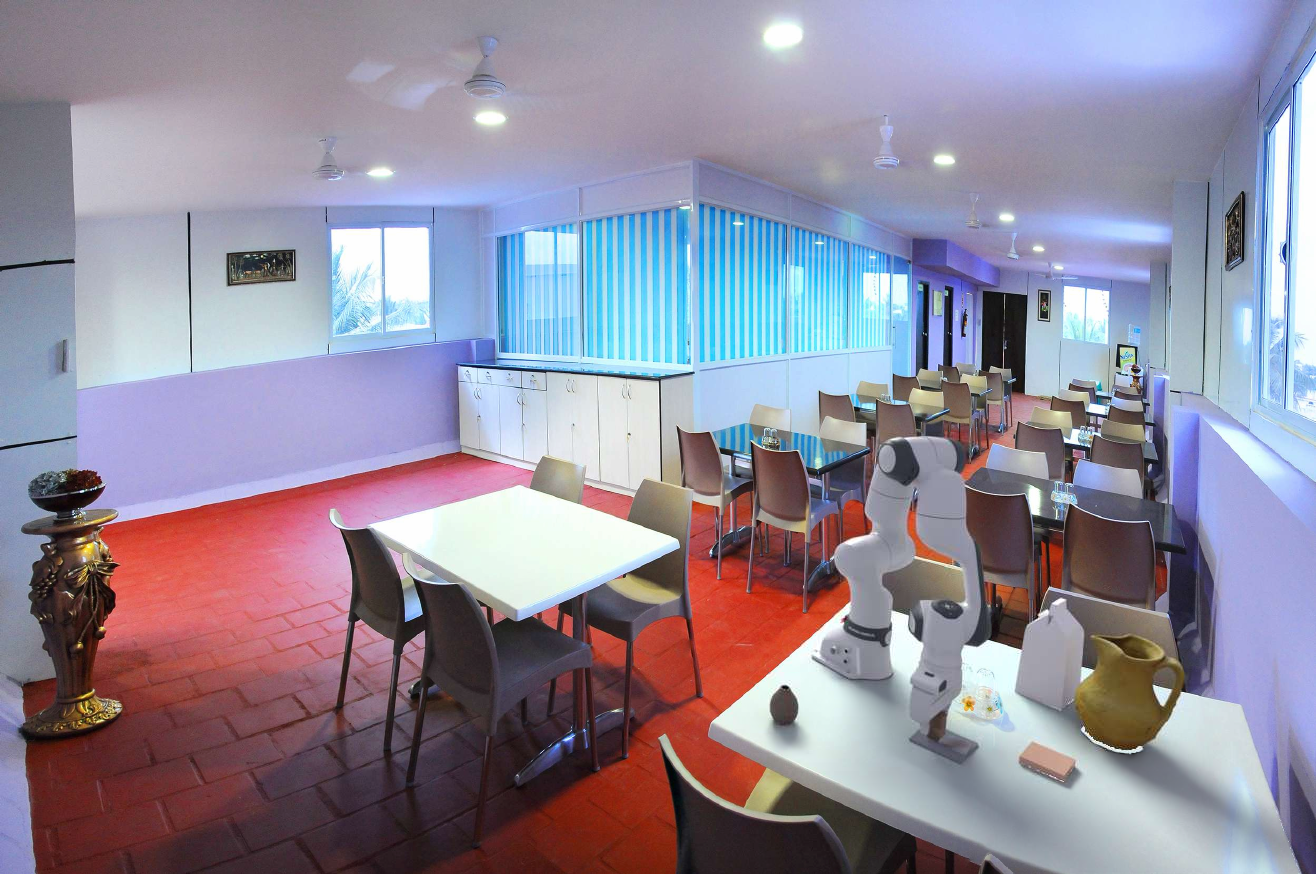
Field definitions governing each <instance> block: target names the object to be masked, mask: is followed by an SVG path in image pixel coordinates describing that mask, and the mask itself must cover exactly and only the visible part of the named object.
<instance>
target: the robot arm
mask: <svg viewBox="0 0 1316 874" xmlns="http://www.w3.org/2000/svg"><path fill="white" fill-rule="evenodd" d="M966 464H967V453H966V450H965V448H964V446H963V444H962V443H961V442H960V441H958V440H956V439H954V438H950V437H945V436H944V437H942V436H941V437H938V436H927V435H920V436H909V437H901V436H899V437H898V436H897V437H894V438H893V437H892V438H889V439H887V440H885V441H884V442H883V443H882V444H881V446H880V447H879V450H878V452H877V464H876V466H875V469H874V471H873V474H872V477H871V479H870V480H871V481H870V485H869V488H868V491H867V493H868V494H867V496H866V501H865V506H864V513H865V515H866V517H867V519H869V521H871V523H872V529H871V532H870V533H869V534H866V535H861V536H856V537H852V538H849V539H847V540H845V541H843V542H842V543H840V544H838V545H837V546H836V548H835V551H834V557H833V560H834V565H835V567H836V569H837V571H838V572H839V573H840V574H841V575H842V576H843V577H845V578H846V580H847V583H848V586H849V590H850V591H849V592H850V607H849V611H848V614H845V615H844V616H843V617H842V618H841V619H840V624H842V623H843V624H842V625H841V626H839V627H836V628H833V629H832V630H830V631H828V632H827V633H826V634H825V635H824V636H823V638H822V640H821V643H820V644H819V645H817V646H815V648H814V649H813V650H812V654H811V658H812V659H814V660H815V661H817V662H819V663H821V664H823V665H824V666H825V667H828V668H829V669H832V670H834V671H835V672H837V673H838V674H840V675H842V676H844V677H846V678H847V679H849V680H858V679H859V680H860V679H862V680H883V679H887V678H889V677H890V676H891V675H893V672H894V669H893V666H892V659H891V642H892V638H893V637H892V636H893V622H892V613H893V601H894V599H893V595H892V593H891V592H890V591H889V590H888V589H887V588H886V587H884V586H883V580H882V579H883V575H884V574H887V573H891V572H895V571H899V570H901V569H903V568H905V567H906V566H908V565H910V564H911V563H912V562H913V561H914V560H915V558H916V552H917V551H916V545H915V543H914V540H913V539H912V537H911V536H910V535H909V533H908V516H909V512H910V509H911V504H912V500H913V496H914V492H915V489H916V493H917V502H916V512H915V531H916V534H917V536H918V538H919V540H920V541H921V543H923V544H924V545H925V546H927V547H928V548H929V549H931V550H932V551H934V552H936V553H938V554H941V555H942V556H945V557H948V558H950V559H952V560H954V561H955V562H957V563H958V564H959V565H960V567H961V570H962V576H963V586H964V595H965V598H964V601H962V602H956V601H955V600H954V601H953V600H951V599H947V598H936V599H929V600H928V599H922V600H916V601H915V602H914V603H913V604H912V605H911V606H910V607H909V610H908V621H907V629H908V631H909V633H910V634H911V635H912V636H913V637H914V639H916V640H917V641H918V642H919V643H922V645H923V647H922V650H921V652H920V658H919V659H920V660H919V661H918V664H917V667H916V669H915V670H914V671H913V673H912V674H911V675H910V679H909V684H910V685H912V687H911V689H910V696H909V707H908V710H909V712H908V713H909V717H910V719H911V720H913V721H914V722H917V723H919V725H920V728H919V729H920V732H921V733H923V734H925V735H927V734H928V733H929V732H930V729H931V726H930V725H929V722H930V720H931V719H932V718H933V717H934V716H935V715H937V714H938V713H939V712H940V711H942V712H944V713H946V714H947V717H949V711H950V708H951V705H952V703H953V701H954V700H956V699H957V697H959V696H960V695H961V692H962V689H963V669H962V667H963V658H962V652H963V649H964V647H965V646H969V647H973V648H979V647H980V646H982V645H983V644H985V643H986V642H987V641H988V640H989V639H990V638H991V636H992V622H991V616H990V611H989V606H988V599H987V592H986V583H985V574H984V565H983V559H982V553H981V548H980V545H979V543H978V541H977V539H976V538H974V537H973V536H971V534H970V532H969V531H968V526H967V493H966V483H965V479H964V477H963V476H962V475H961V474H962V473H963V472H964V469H965V467H966Z"/></svg>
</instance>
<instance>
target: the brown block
mask: <svg viewBox="0 0 1316 874" xmlns="http://www.w3.org/2000/svg"><path fill="white" fill-rule="evenodd" d="M947 719H948V716H947V714H946V713H944V712H942V711H940V712H939V713H938V714H937V715H935V716H934V717H933V718H932V719H931V720H930V722H929V725H930V726H931V729H930V732H929V733H928V734H927V737H928V738H931V739H933V740H935V741H937V742H939V744H941V745H943V746H945V747H948V748H950V749H952V750H954V751H956V752H959V753H961V754H963V755H965V754H966V753H967V752H968V751H969V750H970V749H971V748H972V744H969V743H967V742H965V741H963V740H960V739H958V738H956V737H954V736H951V735H949V734H947V733H946V734H945V731H946V729H947Z"/></svg>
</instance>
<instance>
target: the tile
mask: <svg viewBox="0 0 1316 874" xmlns="http://www.w3.org/2000/svg"><path fill="white" fill-rule="evenodd" d="M1076 761H1077V760H1076V759H1075V758H1073V757H1070V756H1068V755H1066V754H1063V753H1060V752H1058V751H1056V750H1054V749H1051V748H1048V747H1046V746H1044V745H1042V744H1040V743H1037V742H1035V741H1031V742H1030V743H1029V745H1028V746H1027V747H1026V748H1025V749H1024V750H1023V752H1022V753H1021V754H1020V755H1019V759H1018V763H1019V764H1020V763H1022V764H1021V765H1023V764H1024V765H1023V766H1025V765H1026V766H1025V767H1027V766H1030V767H1031V768H1033V769H1032V770H1034V769H1036V770H1039V771H1040V772H1043V773H1045V774H1048V775H1051V776H1053V777H1056V778H1057V779H1059V780H1062V781H1064V780H1065V779H1066V777H1067V776H1068V774H1069V773H1070V772H1071V770H1072V769H1073V767H1074V766H1075V767H1076V763H1077V762H1076ZM1075 767H1074V768H1075ZM1031 768H1030V769H1031ZM1036 770H1035V771H1036ZM1073 770H1074V769H1073ZM1073 770H1072V771H1073ZM1040 772H1039V773H1040ZM1043 773H1042V774H1043ZM1071 773H1072V772H1071ZM1071 773H1070V774H1071ZM1045 774H1044V775H1045ZM1070 774H1069V775H1070ZM1068 777H1069V776H1068ZM1068 777H1067V778H1068ZM1066 780H1067V779H1066ZM1066 780H1065V781H1066ZM1065 781H1064V782H1065Z"/></svg>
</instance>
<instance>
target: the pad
mask: <svg viewBox="0 0 1316 874" xmlns="http://www.w3.org/2000/svg"><path fill="white" fill-rule="evenodd" d="M946 733H947V734H949V735H951V736H954V737H956V738H958V739H960V740H963V741H965V742H967V743H969V744H972V748H971V749H970V750H969V751H968V752H967V753H966V754H965V755H963V754H961V753H959V752H956V751H954V750H952V749H950V748H948V747H945V746H943V745H941V744H939V742H937V741H935V740H933V739H931V738H928V737H927V735H925V734H923V733H921V732H920V728H919V729H917V731H915V732H914V734H912V735H911V736H910V737H909V739H908V740H909V741H910V742H912V743H915V744H917V745H919V746H921V747H923V748H925V749H928V750H930V751H932V752H934V753H937V754H938V755H941V756H943V757H945V758H947V759H949V760H951V761H954V762H955V763H958V764H959V765H962V764H963V763H964V762H965V761H966V759H967V758H968V757H969V756H970V755H971V754H972V753H973V752H974V751H975V750H976V749H977V747H978V746H979V742H978V741H977V742H976V741H975V740H972V739H970V738H967V737H965V736H962V735H960V734H958V733H955V732H953V731H951V730H949V729H947V728H946V731H945V734H946Z"/></svg>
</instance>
